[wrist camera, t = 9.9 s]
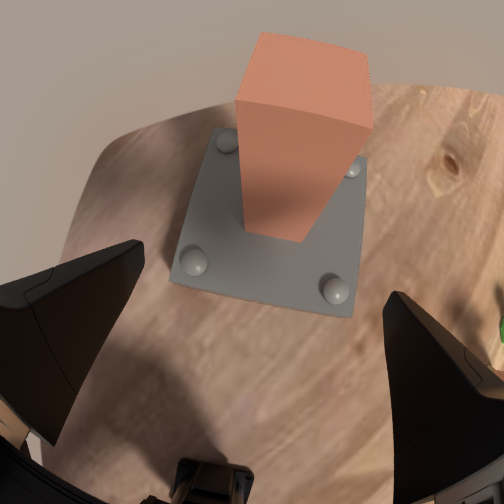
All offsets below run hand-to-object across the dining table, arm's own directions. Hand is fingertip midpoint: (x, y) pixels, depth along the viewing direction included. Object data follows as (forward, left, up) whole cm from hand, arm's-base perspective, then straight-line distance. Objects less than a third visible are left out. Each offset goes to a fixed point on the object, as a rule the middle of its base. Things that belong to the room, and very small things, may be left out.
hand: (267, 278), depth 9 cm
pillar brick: (+6, 0, -10) cm, 11 cm away
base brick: (+6, 0, -13) cm, 14 cm away
